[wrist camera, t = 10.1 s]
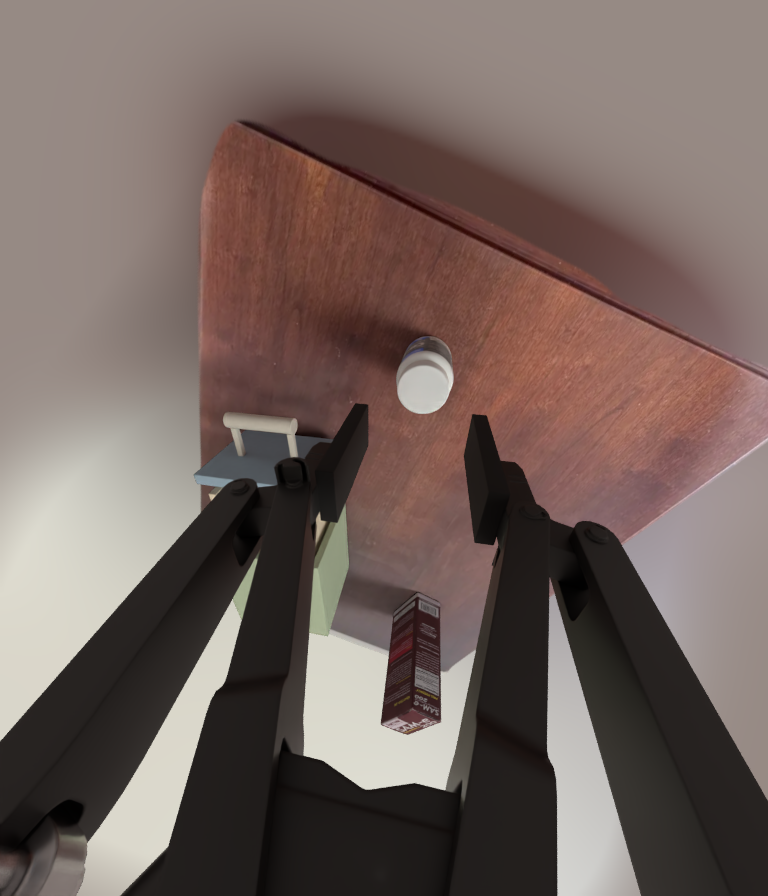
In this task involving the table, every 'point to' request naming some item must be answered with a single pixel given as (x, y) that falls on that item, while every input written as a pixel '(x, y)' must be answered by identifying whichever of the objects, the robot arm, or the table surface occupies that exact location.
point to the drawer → (258, 454)
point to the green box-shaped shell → (317, 578)
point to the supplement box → (413, 667)
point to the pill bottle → (425, 375)
